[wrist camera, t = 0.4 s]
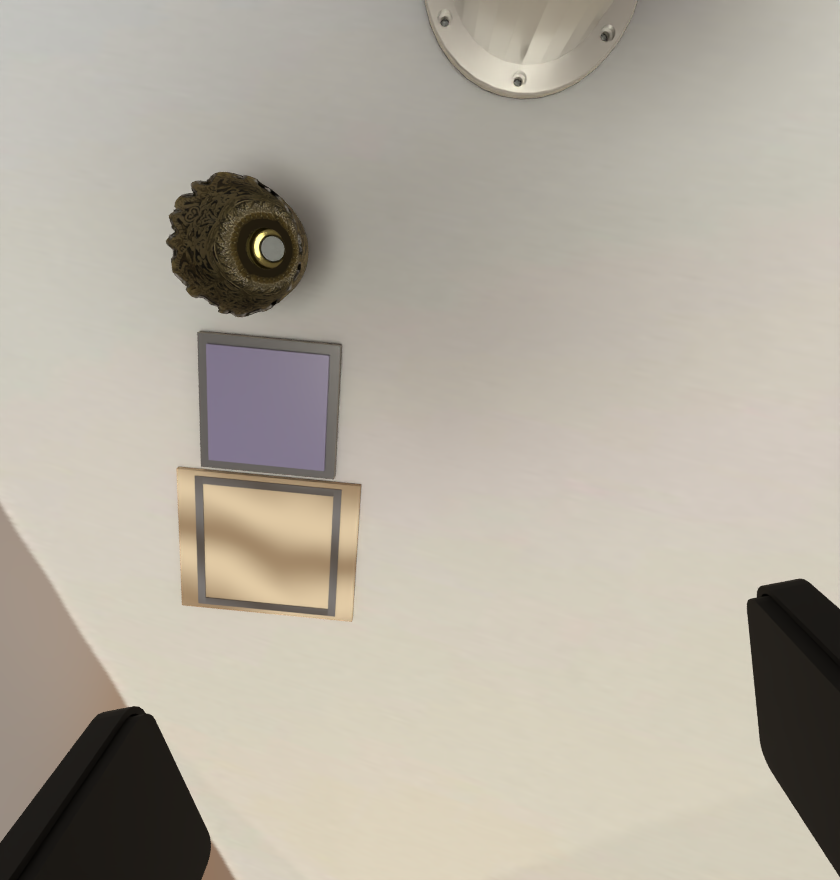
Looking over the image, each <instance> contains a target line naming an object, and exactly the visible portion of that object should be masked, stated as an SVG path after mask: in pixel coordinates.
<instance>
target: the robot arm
mask: <svg viewBox="0 0 840 880" xmlns="http://www.w3.org/2000/svg"><path fill="white" fill-rule="evenodd" d="M637 2H638V0H425V5H426V9H427V13H428V17H429V21H430V25H431V27H432V30H433V32H434V34H435V36H436V39H437V41H438V43H439V45H440V47H441V48H442V50H443V51H444V53H445V54H446V56H447V57H448V59H449V60H450V62H451V63H452V64H453V65H454V66H455V67H456V68H457V69H458V70H459V71H460V72H461V73H462V74H463V75H464V76H465V77H466V78H467V79H469V80H470V81H472V82H473V83H475V84H476V85H478V86H479V87H481V88H483V89H485V90H487V91H490V92H493V93H495V94H498V95H501V96H506V97H513V98H519V99H523V98H538V97H543V96H547V95H550V94H554V93H557V92H560V91H562V90H564V89H566V88H568V87H570V86H572V85H574V84H576V83H578V82H579V81H580V80H582V79H583V78H584V77H586V76H587V75H588V74H589V73H591V72H592V71H593V70H595V69H596V68H597V66H598V65H599V64H600V63H601V62H602V61H603V60H604V59H605V58H606V57H607V56H608V54H609V53H610V52H611V51H612V50H613V48H614V47H615V46H616V44H617V43H618V42H619V40H620V39H621V37H622V35H623V33H624V31H625V29H626V28H627V26H628V24H629V22H630V20H631V18H632V16H633V13H634V10H635V7H636V5H637ZM443 19H446V20H448V22H449V24H448V26H445V27H443V26H442V25H441V24H440V23H441V21H442V20H443ZM602 34H605V35H606V36H607V38H608V40H607V42H605V41H603V40H602V39H601V37H600V36H601V35H602ZM515 79H519V80H521V82H522V85H521V86H520V87H516V86H515V85H514V80H515ZM747 614H748V624H749V635H750V645H751V655H752V665H753V675H754V686H755V696H756V706H757V716H758V726H759V737H760V744H761V748H762V752H763V755H764V757H765V760H766V762H767V764H768V766H769V768H770V770H771V772H772V773H773V775H774V776H775V778H776V780H777V781H778V783H779V784H780V786H781V787H782V789H783V790H784V792H785V793H786V795H787V796H788V798H789V800H790V801H791V803H792V804H793V806H794V807H795V809H796V810H797V812H798V813H799V815H800V817H801V818H802V820H803V821H804V823H805V824H806V826H807V827H808V829H809V830H810V832H811V833H812V835H813V837H814V838H815V840H816V841H817V843H818V844H819V846H820V847H821V849H822V850H823V852H824V854H825V855H826V857H827V858H828V860H829V861H830V863H831V864H832V866H833V867H834V869H835V870H836V872H837V874H838V875H839V877H840V609H839V608H838V607H837V606H836V605H835V604H833V603H832V602H831V601H830V600H829V599H828V598H827V597H825V596H824V595H823V594H822V593H821V592H820V591H818V590H817V589H816V588H815V587H814V586H813V585H812V584H810V583H809V582H808V581H806V580H805V579H795V580H790V581H785V582H779V583H774V584H769V585H764V586H761V587H759V588H758V591H757V598H752V599H749V600H748V602H747ZM210 850H211V841H210V836H209V832H208V830H207V828H206V826H205V824H204V822H203V820H202V818H201V815H200V813H199V811H198V809H197V807H196V805H195V803H194V801H193V799H192V796H191V794H190V792H189V790H188V788H187V786H186V784H185V782H184V780H183V777H182V775H181V773H180V771H179V769H178V767H177V765H176V763H175V761H174V758H173V756H172V754H171V752H170V750H169V748H168V746H167V744H166V742H165V739H164V737H163V735H162V733H161V731H160V729H159V727H158V725H157V723H156V720H155V719H154V717H153V716H152V715H150V714H146V713H145V712H144V710H143V709H141V708H140V707H136V706H133V707H128V708H123V709H117V710H112V711H107V712H103V713H100V714H98V715H97V716H96V717H95V718H94V719H93V720H92V721H91V723H90V724H89V726H88V727H87V728H86V730H85V731H84V732H83V734H82V735H81V736H80V737H79V739H78V740H77V741H76V743H75V744H74V745H73V747H72V748H71V749H70V751H69V752H68V753H67V755H66V756H65V757H64V759H63V760H62V761H61V763H60V764H59V766H58V767H57V768H56V770H55V771H54V772H53V773H52V775H51V776H50V777H49V779H48V780H47V781H46V783H45V784H44V785H43V787H42V788H41V789H40V791H39V792H38V794H37V795H36V796H35V797H34V799H33V800H32V801H31V803H30V804H29V805H28V807H27V808H26V809H25V811H24V812H23V813H22V815H21V816H20V817H19V819H18V820H17V821H16V823H15V824H14V825H13V827H12V828H11V829H10V831H9V832H8V833H7V835H6V836H5V837H4V839H3V840H2V841H1V843H0V880H201V879H202V877H203V874H204V871H205V869H206V866H207V863H208V860H209V857H210Z"/></svg>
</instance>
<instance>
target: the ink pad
mask: <svg viewBox="0 0 840 880" xmlns="http://www.w3.org/2000/svg"><path fill="white" fill-rule="evenodd" d="M197 335H198V372H199V409H200V447H201V466H202V467H212V468H222V469H232V470H243V471H253V472H263V473H274V474H284V475H294V476H305V477H315V478H325V479H334V478H335V474H336V454H337V434H338V414H339V394H340V373H341V353H342V345H341V344H330V343H320V342H310V341H299V340H289V339H278V338H268V337H258V336H247V335H237V334H226V333H216V332H206V331H200V332H197Z"/></svg>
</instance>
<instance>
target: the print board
mask: <svg viewBox="0 0 840 880" xmlns="http://www.w3.org/2000/svg"><path fill="white" fill-rule="evenodd" d="M177 493H178V518H179V542H180V567H181V591H182V605H186V606H196V607H206V608H216V609H227V610H237V611H247V612H257V613H268V614H278V615H288V616H298V617H309V618H319V619H329V620H339V621H349V622H352V619H353V604H354V588H355V573H356V557H357V542H358V526H359V511H360V495H361V485H360V484H350V483H340V482H330V481H319V480H309V479H299V478H288V477H278V476H268V475H257V474H247V473H237V472H227V471H216V470H206V469H196V468H185V467H178V468H177Z"/></svg>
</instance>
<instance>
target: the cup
mask: <svg viewBox="0 0 840 880" xmlns="http://www.w3.org/2000/svg"><path fill="white" fill-rule="evenodd" d="M191 187H192V188H191V189H192V191H193V193H188V194H184V195H181V196H180V197H179V198H178V199H177V200H176V202H175V206H174V207H175V208H176V209H175V210H174V212H173V213H171V214H170V215H169V219H170V222H171V224H172V229H173V230H174V231H175V232H174V233H173V234H172V235H170V236H169V238H168V239H167V240H166V243H167V245H168V246H169V247H171V248H172V249H173V257H172V258H171V263H172V271H173V273H174V274H175V276H176V277H177V278H178V279H180V280H181V281H182V283H183V284H184V285H185V286H187V288H186V290H187V292H188V293H189V294H190V295H191V296H192V297H195V298H198V297H200V298H204V299H205V300H207V301H208V302H209V304H211V305H214V306H217V307H218V309H219V310H218V312H220V313H223V314H228V313H231V314H232V315H234V316H235V317H245V316H249V315H252V314H254V313H257V312H260V311H262V312H264V311H267V310H269V309H271V308H272V307H273V306H274V305H275V304H277V303H279V302H280V301H281V300H282V299H283V298H284V297H286V296H287V295H288V294H289V293H290V292H291V291H292V290H293V289H294V288H295V287H296V286H297V284H298V283H299V281H300V280H301V278H302V276H303V274H304V272H305V269H306V266H307V261H308V241H307V237H306V233H305V230H304V228H303V226H302V224H301V221H300V220H299V218H298V217H297V215H296V214H295V212H294V211H293V210H292V209H291V207H290V206H289V205H288V204H287V203H286V202H285V201H284V200H283V199H282V198H281V197H280V196H278V195H277V194H276V193H275V192H274V191H273V190H271V189H270V188H268V187H267V186H265V185H263V184H262V183H260V182H259V181H258V180H257V179H255V178H253V177H250V176H247V175H244V176H241V175H237V174H235V173H229V172H218V173H215V174H213V175H212V176H211V177H210V178H209V179H208V180H207V181H195V182H192V183H191ZM269 236H275V237H277V238H279V239H280V240H281V241H282V242H283V244H284V248H285V252H284V255H283V257H282V258H281V259H280V260H278V261H275V262H272V261H269V260H267V259H266V258H264V256H263V255H262V253H261V243H262V241H263V240H264V239H265V238H266V237H269Z"/></svg>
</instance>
